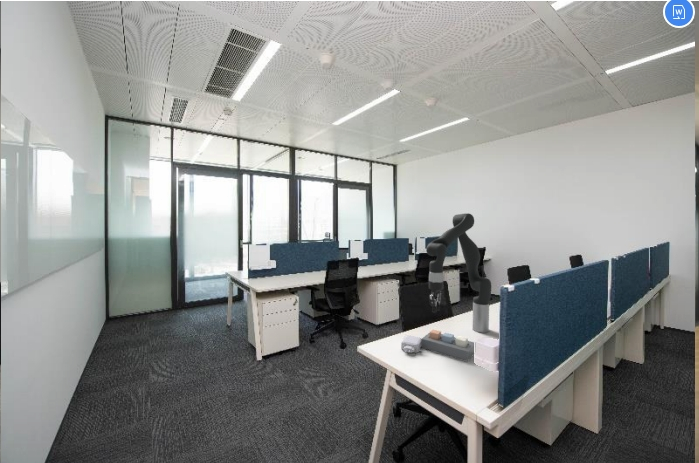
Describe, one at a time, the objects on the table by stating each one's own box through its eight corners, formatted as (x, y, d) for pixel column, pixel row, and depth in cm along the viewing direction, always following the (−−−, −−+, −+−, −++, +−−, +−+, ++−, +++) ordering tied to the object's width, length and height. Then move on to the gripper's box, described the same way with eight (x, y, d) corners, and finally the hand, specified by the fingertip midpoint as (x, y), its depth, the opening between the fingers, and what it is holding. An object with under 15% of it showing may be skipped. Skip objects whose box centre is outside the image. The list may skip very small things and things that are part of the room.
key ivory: (458, 345, 150) (458, 335, 150) (467, 347, 147) (467, 338, 147) (455, 348, 146) (455, 338, 146) (464, 350, 143) (464, 341, 143)
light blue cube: (445, 341, 154) (445, 332, 154) (453, 344, 151) (453, 334, 151) (442, 344, 151) (442, 335, 150) (450, 347, 148) (450, 337, 148)
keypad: (431, 339, 164) (431, 331, 164) (475, 352, 149) (475, 342, 148) (421, 347, 154) (421, 338, 153) (467, 361, 139) (467, 351, 138)
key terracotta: (432, 338, 159) (432, 329, 158) (440, 340, 156) (441, 331, 156) (429, 341, 155) (429, 332, 155) (437, 343, 152) (437, 334, 152)
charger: (398, 354, 146) (404, 343, 160) (416, 358, 142) (421, 346, 156) (398, 345, 146) (405, 335, 160) (416, 349, 142) (421, 337, 156)
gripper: (434, 277, 162) (434, 307, 163) (423, 281, 151) (423, 313, 152) (447, 279, 157) (447, 309, 158) (437, 283, 146) (437, 316, 147)
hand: (435, 311), depth 155 cm, fingers open, 3 cm apart
